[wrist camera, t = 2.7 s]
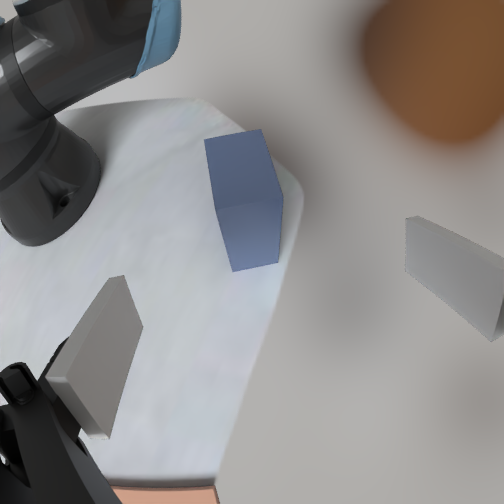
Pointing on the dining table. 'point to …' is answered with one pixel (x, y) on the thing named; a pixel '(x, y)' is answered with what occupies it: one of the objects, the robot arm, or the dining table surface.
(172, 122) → the dining table surface
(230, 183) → the block
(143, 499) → the plate
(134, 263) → the dining table surface
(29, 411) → the robot arm
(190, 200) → the dining table surface
